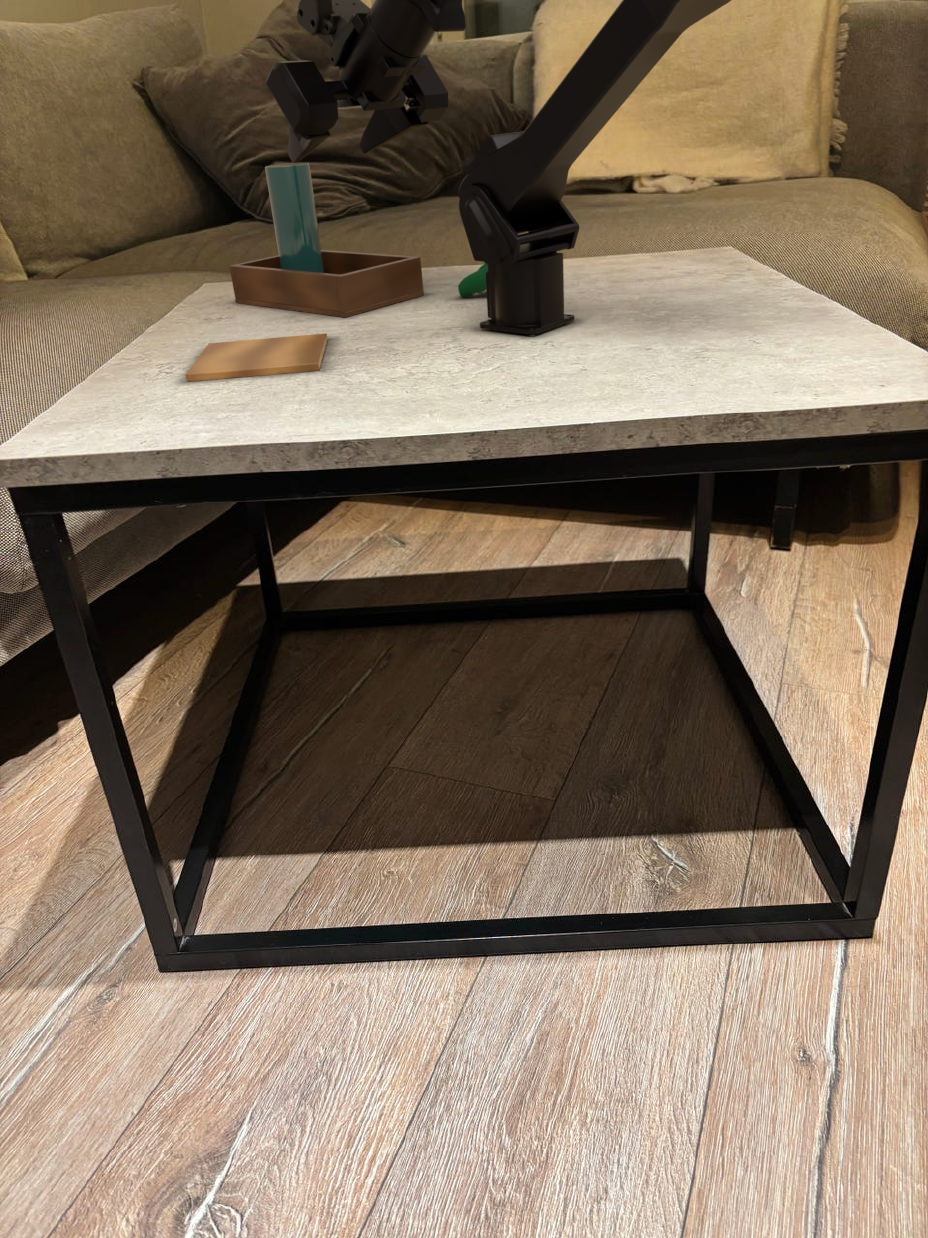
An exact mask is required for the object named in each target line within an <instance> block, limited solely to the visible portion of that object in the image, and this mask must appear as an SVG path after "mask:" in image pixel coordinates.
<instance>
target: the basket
mask: <svg viewBox="0 0 928 1238" xmlns="http://www.w3.org/2000/svg"><path fill="white" fill-rule="evenodd" d="M321 253H322V260H323V267H324V273H318V272H307V271H296V270H286V269H281V266H280V260H279V254H278V255H273V256H268V257H264V258H259V259H255V260H250V261H245V262H241V263H235V264H231V265H229V271H230V277H231V285H232V287H233V288H232V289H233V295H234V298H235V299H234V300H235V303H236V304H243V305H251V306H258V307H264V308H265V307H266V308H273V309H282V310H287V311H296V312H301V313H310V314H317V315H326V316H332V317H333V316H334V317H338V318H339V317H340V318H348V317H349V318H350V317H351V316H355V315H359V314H362V313H366V312H370V311H373V310H377V309H380V308H384V307H388V306H391V305H395V304H398V303H402V302H405V301H408V300H409V301H410V300H413V299H415V298H419V297H423V296H424V295H425V294H424V284H423V283H424V281H423V272H422V261H421V258H422V257H421V256H411V255H400V254H399V255H397V254H386V253H373V252H372V253H371V252H370V253H369V252H356V251H345V250H344V251H342V250H331V249H330V250H328V249H321Z"/></svg>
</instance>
